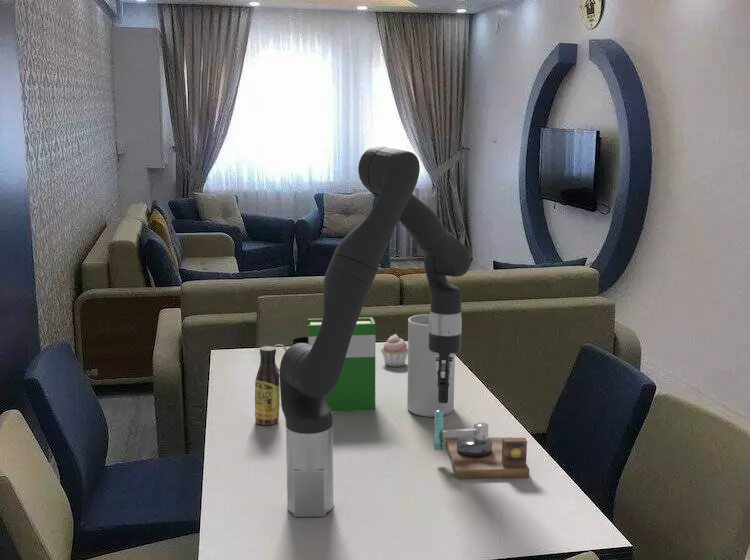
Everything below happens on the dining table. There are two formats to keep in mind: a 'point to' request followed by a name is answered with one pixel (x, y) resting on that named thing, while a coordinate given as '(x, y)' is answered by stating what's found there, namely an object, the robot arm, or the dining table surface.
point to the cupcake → (395, 351)
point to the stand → (491, 460)
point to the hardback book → (353, 368)
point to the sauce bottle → (267, 388)
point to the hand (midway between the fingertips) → (443, 402)
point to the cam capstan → (470, 443)
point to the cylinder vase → (424, 371)
